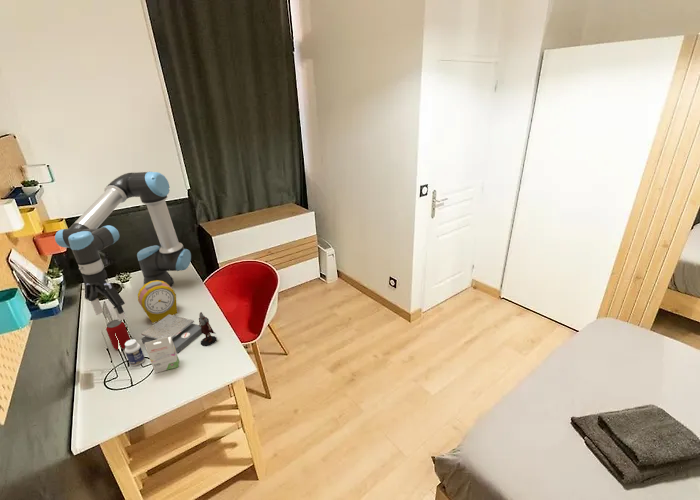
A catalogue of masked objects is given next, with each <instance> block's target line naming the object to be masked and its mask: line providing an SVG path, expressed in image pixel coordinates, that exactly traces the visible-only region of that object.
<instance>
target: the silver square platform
mask: <svg viewBox="0 0 700 500" xmlns="http://www.w3.org/2000/svg"><path fill="white" fill-rule="evenodd" d="M192 323H193V324H194V323H195V319H194V320H193V319H190V318H185V317H181V316H177V315H170V314H169V315H167V316H166V317H164V318H163V319H162V320H160V321H157V322H155V323H153V325H151V326H150V327H149V328H147V329H145V330H144V331H142V332H141V336H143V337H144V336H146V337H150V338H153V339H162V338H165V337H171V338H172V339H173V338H174V337H175V336H177V335H178V334H179V333H180V332H182V331H183V330H184V329H186V328H187V327H188V326H189V325H191V324H192Z"/></svg>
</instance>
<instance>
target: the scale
mask: <svg viewBox="0 0 700 500" xmlns="http://www.w3.org/2000/svg"><path fill="white" fill-rule="evenodd" d="M202 334H203V333H202V332H201V328H200V327H199V324H196V323H194V322H193V323H192V324H191V325H189V326H188V327H187V328H186V329H184V330H183V331H182V332H180V333H179V334H178V335H177V336H175V337H174V338H173V339H172V341H173V344H174V346H175V349H176V352H177V354H179V353H180V352H182V350H184V349H185V348H186V347H187V346H188V345H189V344H191V343H192V342H193V341H195V339H197V338H198V337H199V336H200V335H202ZM140 340H141V343H142V344H143V345H145V342H150V341H153V340H157V339H153V338H150V337H146V336H143V337H141V338H140Z"/></svg>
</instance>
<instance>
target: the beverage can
mask: <svg viewBox="0 0 700 500" xmlns="http://www.w3.org/2000/svg"><path fill="white" fill-rule="evenodd" d="M124 323H125V322H124V320H121V321H118V318H117V319H113V320H111V321H109V322H107V324H106V328H105V331H106V333H107V336H108V338H109V341H110V342H111V345H112V348H113V349H114V350H116V351H117V350H118V340H119V343H120V345H121V347H122V349H121V350H125V348H126V347H125V343H126V342H127V341H128V340H130V339H131V336H130V335H129V332H127V331H128V329H127V330H126V328H127V327H125V326H126V324H124ZM115 333H116V336H117V338H118V340H117V338H116V336H115ZM129 336H130V337H129ZM118 351H119V350H118Z"/></svg>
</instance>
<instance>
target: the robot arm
mask: <svg viewBox="0 0 700 500" xmlns="http://www.w3.org/2000/svg"><path fill="white" fill-rule="evenodd" d="M169 193H170V183H169V180H168V179H167V178H166V176H165V174H162V173H160V172H159V171H144V172H143V171H142V172H141V171H139V172H127V173H123V174H121V175H120V176H117V177H116V178H115V179H113V180H112V181H110V182H109V183H108V185H106V187H104V192H103V193H102V194H101V195H100V196H98V198H97V199H96V200H95V201H94V202H93V203H92V204H91V205H90V206H89V207H88V208H87V209H86V210H85V211H84V212H83V213H82V215H80V216H79V218H78V219H76V220H75V222H74V223H72V225H71V226H70V227H68V228H64V229H59V230H58V231H56V233H55V235H54V240H55V243H56V244H57V245H58V246H59V247H61V248H66V249H67V248H69V249H71V252H72V254H73V256H74V259H75V261H76V263H77V265H78V270H79V271H80V273H81V274H82V275H81V276H82V278H83V284H84V298H85V299H86V300H88V301H89V302H90V304H91V306H92V308H93V311H94V313H95V316H99V315H100V314H102V313H103V312H104V310H103V307H102V305H101V301H100V299H99V296H98V294H99V293H100V294H101V295H102V296H104V297H105V298H106V299H107V300H108V301H109V302H110V303H111V304H112V305H113V310H114V313H115V316H116V318H117V319H118V321H124V319H126V315H125V312H124V308H123V305H125V303H126V302H125V301H124V299H123V298H122V296H121V295H120V294H119V293H118V291H117V289H116V288H115V287H114V284H113V283H112V282H107V281H106V279H107V277H108V274H107V270H106V269H105V266H104V263H103V259H102V258H101V255H100V252H101V251H103V250H104V249H107V248H108V247H109V246H112V245H114V244H115V243H116V242H117V241H119V240H120V232H119V230H118V229H117V228H116V227H115V226H113V225H104V226H101V225H102V224H103V223H104V222H105V220H106V219H108V217H109V216H110V215H111V214H112V213H113V211H115V209H116V208H117V207H118V206H119V204H121V203H124V202H126V201H127V199H128V200H129V199H130V198H140V201H141V203H142V204H144V205H146V207H147V211H148V213H149V216H150V219H151V222H152V224H153V228H154V231H155V234H156V235H157V239H158V241H159V245H157V244H155V245H150V246H147V247H144V248H141V249H140V250H139V251H138V252H137V254H136V257H137V261H138V264H139V267H140V270H141V272H142V275H143V286H144V285H145V284H146V283H148V282H150V281H156V280H159V281H164V282H165V283H167V284H168V285H169V286H170V287H171V288H172V286H173V285H174V284H175V282H174V278H173V277H172V275H171V274H170V273H169V272H171V271H174V272H175V271H176V272H179V271H180V272H183V271H185V270H187V269H188V268H189V266H190V264H191V261H192V253H191V251H190V250H189V249H187V248H184V245H183V243H182V242H179V239H178V236H177V233H176V230H175V228H174V224H173V221H172V218H171V215H170V211H169V208H168V205H167V202H166V200H167V199H168V195H169ZM100 226H101V227H100ZM99 227H100V228H99ZM143 286H142V287H143Z"/></svg>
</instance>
